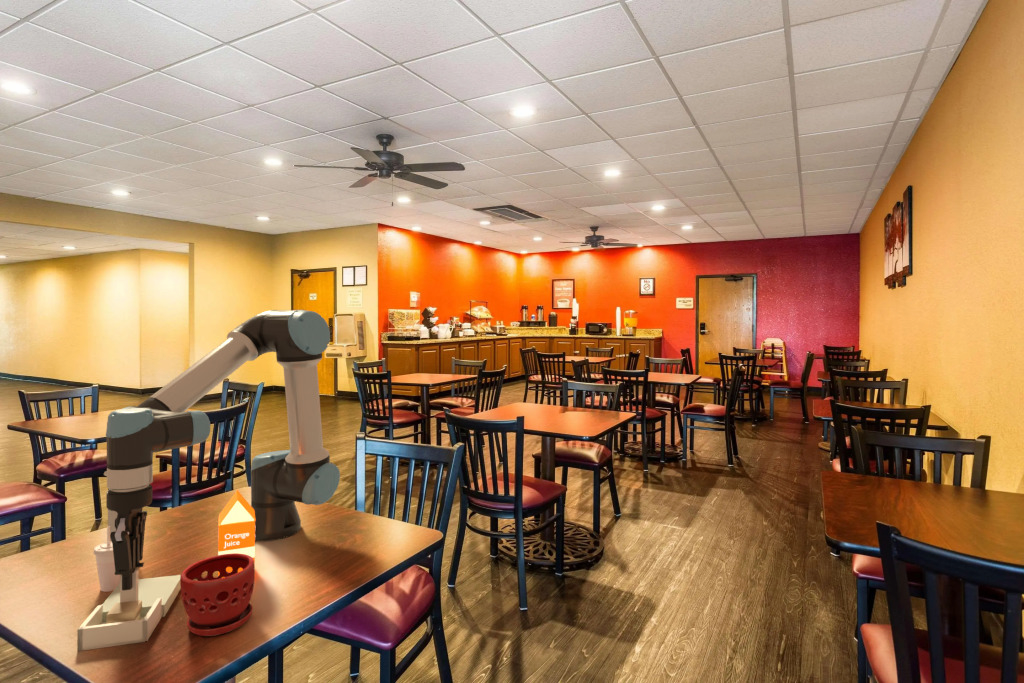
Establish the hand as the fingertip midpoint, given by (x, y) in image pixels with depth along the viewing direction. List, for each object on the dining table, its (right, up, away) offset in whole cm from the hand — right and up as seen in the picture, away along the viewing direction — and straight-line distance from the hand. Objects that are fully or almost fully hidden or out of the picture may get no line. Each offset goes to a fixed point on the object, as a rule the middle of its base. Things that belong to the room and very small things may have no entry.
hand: (129, 602), depth 109 cm
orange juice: (+11, -4, +20) cm, 23 cm away
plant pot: (+18, -5, 0) cm, 18 cm away
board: (-2, -4, +7) cm, 8 cm away
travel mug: (-20, -3, +27) cm, 33 cm away
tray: (+1, -4, -4) cm, 6 cm away
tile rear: (+1, -2, -3) cm, 3 cm away
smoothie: (-14, -4, +14) cm, 20 cm away
